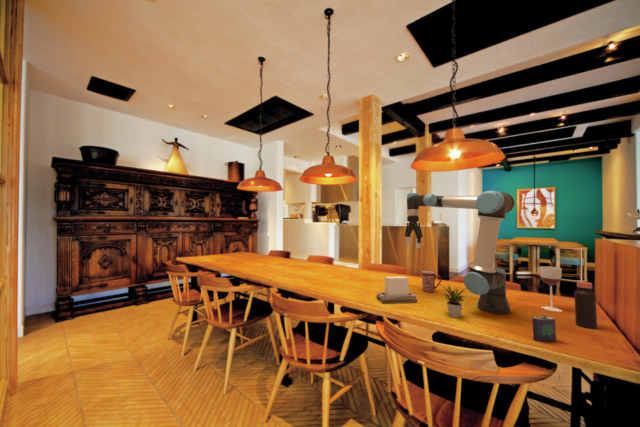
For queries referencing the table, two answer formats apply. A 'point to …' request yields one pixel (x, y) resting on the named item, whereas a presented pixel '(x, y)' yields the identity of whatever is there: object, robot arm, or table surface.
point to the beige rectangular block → (396, 286)
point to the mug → (429, 281)
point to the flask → (544, 329)
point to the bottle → (585, 306)
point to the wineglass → (551, 281)
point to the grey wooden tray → (397, 298)
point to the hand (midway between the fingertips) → (413, 247)
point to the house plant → (454, 301)
